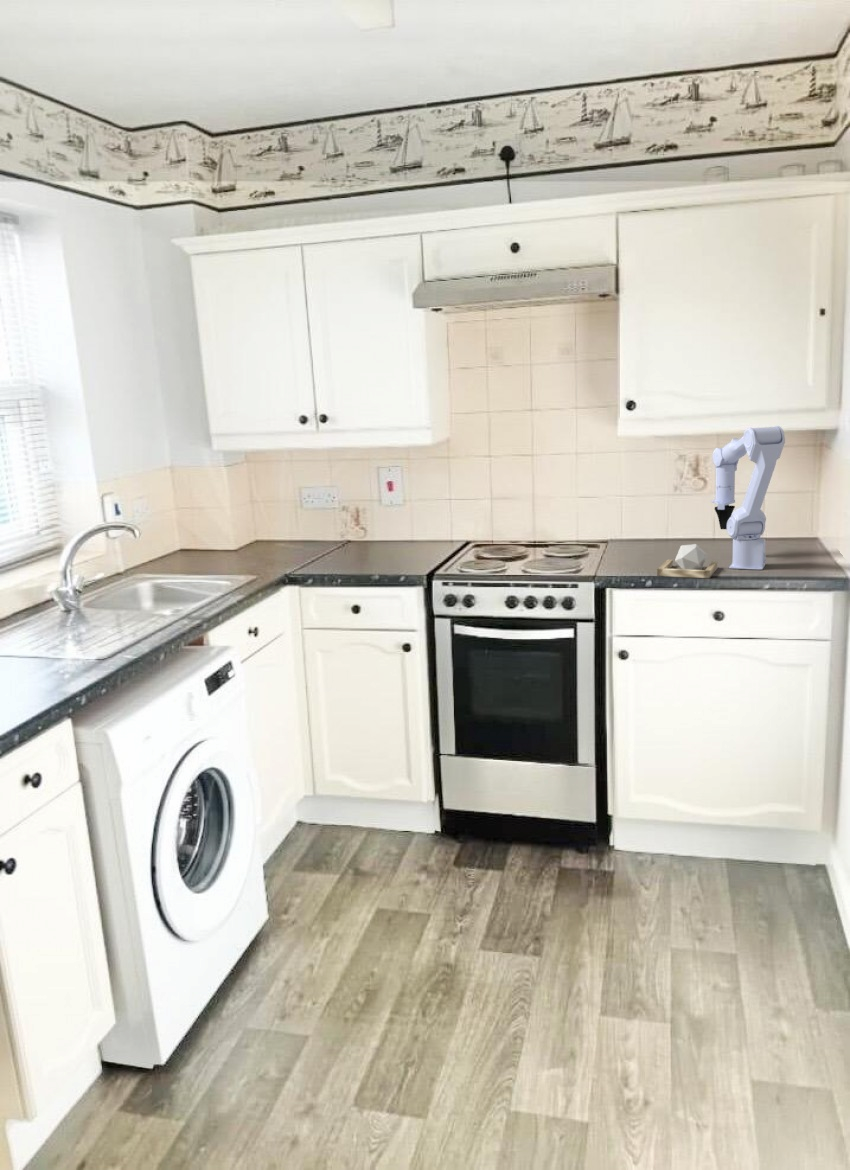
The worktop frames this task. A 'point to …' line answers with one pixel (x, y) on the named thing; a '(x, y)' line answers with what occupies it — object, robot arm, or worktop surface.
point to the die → (691, 557)
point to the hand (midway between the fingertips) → (724, 529)
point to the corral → (686, 570)
